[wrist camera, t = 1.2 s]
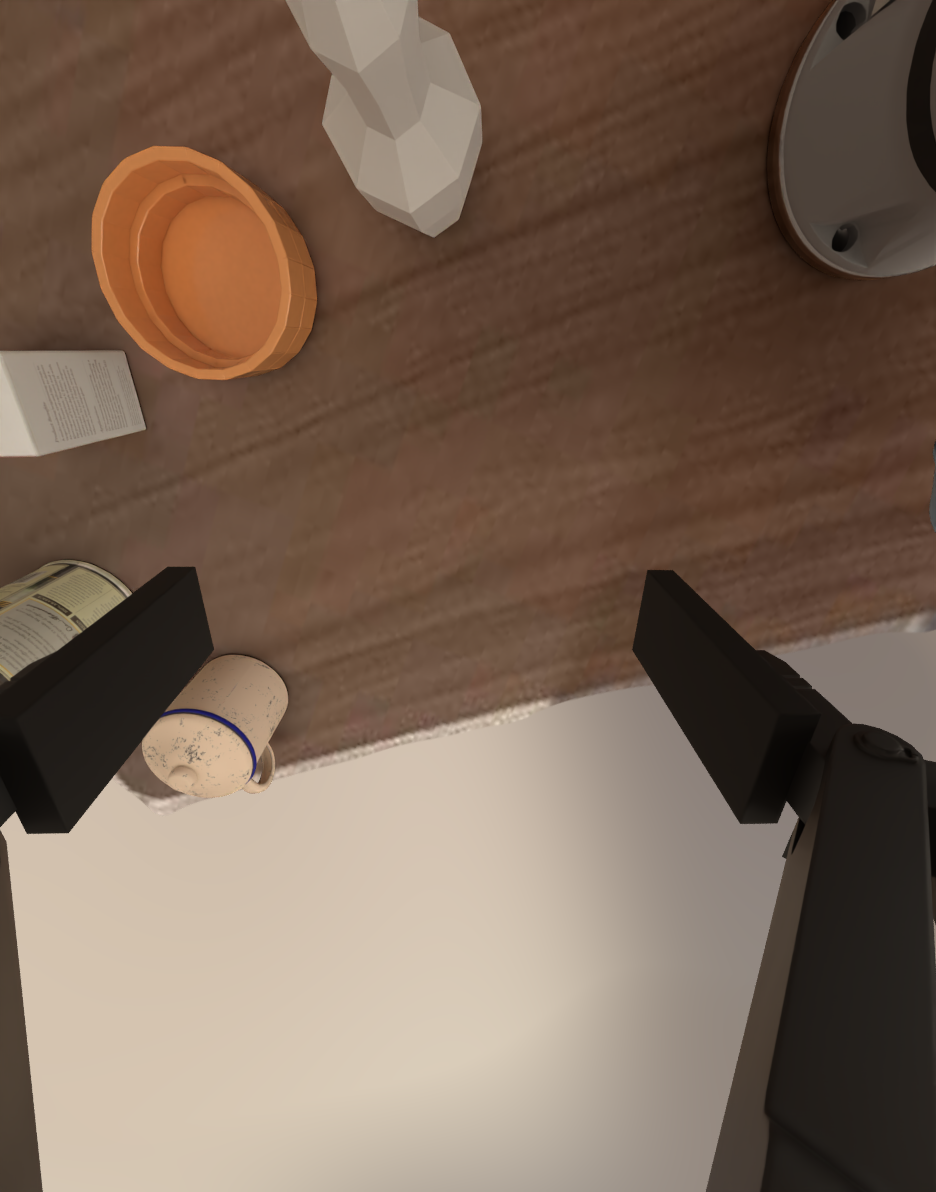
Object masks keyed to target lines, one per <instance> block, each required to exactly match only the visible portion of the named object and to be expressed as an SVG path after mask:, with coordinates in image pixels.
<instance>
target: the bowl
mask: <svg viewBox="0 0 936 1192" xmlns="http://www.w3.org/2000/svg"><path fill="white" fill-rule="evenodd" d="M92 251H93V252H92V256H93V260H94V263H95V267H96V271H97V275H98V279H99V283H100V287H101V290H102V292H103V294H104V295H105V297H106V299H107V301H108V303H109V305H110V307H111V309H112V311H113V313H114V315H115V317H116V318H117V320H118V322H119V323H120V324H121V325H122V327H123V328H124V329H125V330H126V331H127V332H128V334H129V335H130V336H131V337H132V338H133V339H134V341H135V342H136V343H137V344H138V345H139V346H140V348H142V349H143V350H144V351H145V352H147V353H148V354H150V355H151V356H152V357H154V358H155V359H157V360H158V361H159V362H161V363H162V364H164V365H165V366H166V367H168V368H170V369H172V370H175V371H177V372H180V373H183V374H185V375H188V376H191V377H194V378H196V379H209V380H229V379H237V378H244V377H252V376H259V375H262V374H265V373H268V372H271V371H274V370H277V369H280V368H281V367H282V366H284V365H285V364H286V363H287V362H288V361H289V360H291V359H292V358H293V357H294V356H295V355H296V354H298V352H300V350H301V348H302V346H303V344H304V343H305V341H306V339H307V337H308V335H309V334H310V332H311V329H312V325H313V320H314V315H315V310H316V305H317V301H316V300H317V293H316V281H315V271H314V266H313V264H312V261H311V258H310V255H309V252H308V250H307V247H306V244H305V241H304V239H303V236H302V235H301V233H300V232H299V230H298V229H297V227H296V226H295V224H294V223H293V221H292V220H291V218H290V217H289V215H288V214H287V212H286V211H285V209H283V207H282V206H280V205H279V204H278V203H277V202H276V201H275V200H273V199H272V198H271V197H270V196H269V195H267V194H266V193H265V192H264V191H263V190H262V189H260V188H259V187H258V186H256V185H255V184H253V183H252V182H250V181H249V180H248V179H246V178H245V177H243V176H242V175H240V174H239V173H237V172H236V171H234V170H233V169H231V168H230V167H228V166H227V165H225V164H224V163H222V162H221V161H219V160H217V159H214V158H212V157H210V156H207V155H205V154H203V153H200V152H198V151H195V150H193V149H191V148H188V147H179V146H152V147H149V148H147V149H145V150H143V151H140V152H138V153H136V154H133V155H131V156H129V157H127V158H125V159H123V160H122V161H121V163H120V164H119V165H118V166H117V167H116V168H115V170H114V171H113V172H112V173H111V174H110V175H109V176H108V178H107V179H106V180H105V181H104V183H103V184H102V187H101V190H100V193H99V196H98V199H97V202H96V205H95V208H94V211H93V216H92Z"/></svg>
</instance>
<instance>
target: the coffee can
mask: <svg viewBox="0 0 936 1192" xmlns="http://www.w3.org/2000/svg"><path fill="white" fill-rule="evenodd" d="M131 594H132V593H131V591H130V590H129V589H128V588H127V587H126V586H125V585H124V584H123V583H122V582H121V581H120V580H118V579H117V578H116V577H114V576H113V575H112V574H110V573H109V572H106V571H105V570H103V569H101V568H99V567H97V566H94V565H92V564H89V563H86V562H82V561H76V560H59V561H54V562H51V563H48V564H46V565H44V566H42V567H41V568H39V569H38V570H36V571H34V572H32V573H30V574H28V575H26V576H24V577H22V578H20V579H18V580H16V581H14V582H12V583H10V584H8V585H6V586H4V587H2V588H0V685H2V684H3V683H4V682H6V681H10V678H11V677H13V676H14V675H15V674H17V673H18V672H19V671H21V670H22V669H23V668H25V667H26V666H27V665H29V664H30V663H32V662H35V661H37V660H39V659H41V658H43V657H45V656H47V655H49V654H51V653H53V652H56V651H57V650H59V649H60V648H61V647H63V646H64V645H65V644H67V643H68V642H69V641H71V640H72V639H73V638H75V637H76V636H77V635H79V634H80V633H81V632H82V631H84V630H85V629H86V628H88V627H89V626H90V625H92V624H93V623H94V622H96V621H97V620H98V619H100V618H101V617H102V616H104V615H105V614H106V613H107V612H109V611H110V610H111V609H113V608H114V607H115V606H117V605H118V604H119V603H121V602H122V601H123V600H125V599H126V598H127V597H129V596H130V595H131Z"/></svg>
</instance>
